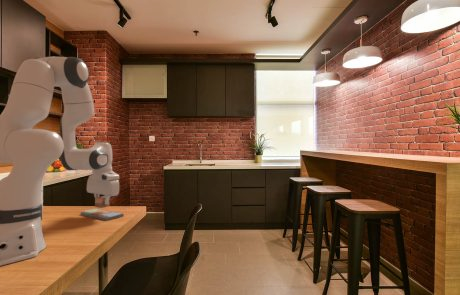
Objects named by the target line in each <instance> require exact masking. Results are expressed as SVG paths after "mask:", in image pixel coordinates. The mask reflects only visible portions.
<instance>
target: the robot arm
mask: <svg viewBox="0 0 460 295" xmlns="http://www.w3.org/2000/svg"><path fill="white" fill-rule="evenodd" d="M89 78H90V70H89V68H88V65H87V63H86V62H85V61H84V60H83V59H81V58H79V57H76V56H75V57H74V56H68V57H66V56H44V57H34V58H29V59H25V60H24V61H23V62H22V63H21V64H20V66H19V67H18V70H17V71H16V74H15V76H14V79H13V82H12V85H11V89H10V92H9V96H8V99H7V102H6V104H5V107H4V109H3V111H2V112H1V114H0V164H12V168H11V171H9V173H8V175H7V176H5V177H3V178H1V179H0V267H1V266H4V265H7V264H12V263H16V262H20V261H24V260H28V259H31V258H35V257H37V256H38V254H39V253H40V252H41V251H43V250H44V249H45V248H46V247H47V244H46V241H45V238H44V235H43V233H44V232H43V228H42V221H43V217H42V204H41V185H42V180H43V181H44V177H45V174H46V172H47V171H48V169H49V167H50V166H51V165H52V164H53V163H55V161H57V160H58V159H59V158H60V163H61V165H62V167H63V168H64V170H65V169H66V171H80V170H81V171H91V174H89V176H88V178H87V183H86V192H87V193H90V194H93V196H94V199H95V198H96V197H100V195H101V196H102V195H103V196H105V197H106V198H105V200H104V204H108V203H109V204H110V198H111V197H114V196H115V197H116V196H118V195H119V194H120V182H119V179H120V175H119V174H118V173H117V172H116V171H115V172H114V171H113V166H112V164H113V147H112V145H111V143H109V142H106V141H95V142H94V144H93V146H91V147H89V148H78V147H77V145H76V141H77V140H76V129H77V128H78V127H79V126H80V125H83V124H85V123H87V122H88V121H90V120H91V119H92V118H93V117H94V114H95V104H94V100H93V95H92V91H91V89H90V86H89V84H88V81H89ZM56 87H59V88H60V89H61V98H62V103H63V115H61V117H60V121H59V133H60V134H59V133H58V132H56V131H51V130H49V129H42V128H34V127H36V125H37V124H38V123H40V122H42V121H44V120H46V118H47V117H48V116H49V114H50V108H51V106H52V105H51V104H52V102H53V101H52V100H53V95H54V90H55V88H56Z"/></svg>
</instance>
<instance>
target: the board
mask: <svg viewBox="0 0 460 295" xmlns="http://www.w3.org/2000/svg"><path fill="white" fill-rule="evenodd" d="M80 215H81V216H85V217H88V218H94V219H99V220H103V221H106V222H107V221H110V220H114V219H118V218H122V217H124V213H122V212H117V211H116V212H115V211H111V210H107V209H103V208H92V209H91V208H90V209H86V210H82V211H81V212H80Z"/></svg>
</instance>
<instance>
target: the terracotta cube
mask: <svg viewBox="0 0 460 295" xmlns="http://www.w3.org/2000/svg"><path fill="white" fill-rule="evenodd" d="M105 198H106V197H105V195H103V196H102V195H101V196H99V197H96V198H95V197H94V207H95V208H98V209H103V208H106V207H110V202H109V203H108V204H104V200H105Z"/></svg>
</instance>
